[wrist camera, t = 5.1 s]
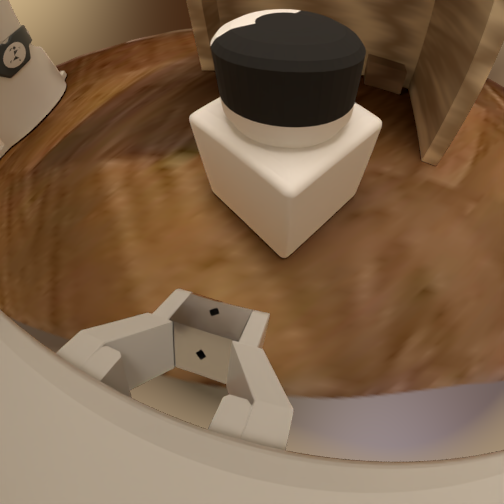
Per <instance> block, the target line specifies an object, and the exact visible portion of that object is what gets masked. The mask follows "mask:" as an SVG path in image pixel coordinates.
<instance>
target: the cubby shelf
mask: <svg viewBox="0 0 504 504" xmlns="http://www.w3.org/2000/svg"><path fill="white" fill-rule="evenodd" d="M186 1H187V6H188V10H189V15H190V19H191V24H192V28H193V33H194V37H195V42H196V46H197V50H198V55H199V59H200V64H201V68H202V70H213V71H215V68H214V62H213V57H212V52H211V47H210V43H211V40H212V38H213V37H214V35H215V34H216V32H217V31H218V30H219V28H221V27H222V26H223V25H225V24H226V23H228V22H230V21H232V20H234V19H236V18H239V17H241V16H243V15H246V14H249V13H253V12H257V11H263V10H272V9H292V10H302V11H308V12H313V13H317V14H320V15H323V16H326V17H329V18H331V19H333V20H335V21H337V22H339V23H341V24H343V25H345V26H346V27H348V28H349V29H351V30H352V31H353V32H355V33H356V34H357V36H358V37H359V38H360V40H361V41H362V43H363V44H364V46H365V49H366V55H365V59H364V64H363V69H362V74H361V75H364V84H366V85H369V86H373V87H377V88H380V89H383V90H387V91H390V92H393V93H396V94H399V95H400V93H401V90H402V87H404V88H407V89H408V90H409V94H410V99H411V103H412V108H413V113H414V118H415V123H416V128H417V134H418V140H419V147H420V154H421V161H423V162H426V163H429V164H432V165H434V166H437V164H438V163H439V161H440V159H441V158H442V156H443V155H444V153H445V152H446V150H447V149H448V147H449V145H450V144H451V142H452V141H453V139H454V137H455V136H456V134H457V132H458V131H459V129H460V127H461V126H462V124H463V122H464V120H465V119H466V117H467V115H468V113H469V112H470V110H471V108H472V106H473V104H474V102H475V101H476V99H477V97H478V95H479V93H480V91H481V89H482V87H483V85H484V83H485V81H486V79H487V77H488V75H489V73H490V71H491V69H492V67H493V64H494V62H495V60H496V58H497V55H498V53H499V51H500V48H501V46H502V44H503V41H504V0H186Z"/></svg>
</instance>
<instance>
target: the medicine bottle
mask: <svg viewBox="0 0 504 504" xmlns="http://www.w3.org/2000/svg"><path fill="white" fill-rule="evenodd" d="M210 47H211V52H212V57H213V62H214V68H215V73H216V78H217V83H218V88H219V93H220V97H219V98H217V99H216V100H214V101H212V102H210V103H209V104H207V105H205V106H203V107H202V108H200V109H198V110H197V111H195V112H194V113H192V114H191V115H190V117H189V122H190V125H191V128H192V131H193V134H194V137H195V140H196V143H197V146H198V149H199V153H200V156H201V159H202V162H203V165H204V168H205V171H206V174H207V177H208V180H209V183H210V186H211V189H212V191H213V192H214V193H215V194H216V195H217V196H218V197H219V198H220V199H221V200H222V201H223V202H224V203H225V204H226V205H227V206H228V207H229V208H230V209H231V210H232V211H233V212H235V213H236V214H237V215H238V216H239V217H240V218H241V219H242V220H243V221H244V222H245V223H246V224H247V225H248V226H249V227H250V228H251V229H252V230H253V231H254V232H255V233H256V234H257V235H258V236H259V237H260V238H262V239H263V240H264V241H265V242H266V243H267V244H268V245H269V246H270V247H271V248H272V249H273V250H274V251H275V252H276V253H277V254H278V255H279V256H280V257H282V258H286V257H288V256H289V255H290V254H292V253H293V252H294V251H295V250H296V249H297V248H298V247H299V246H300V245H301V244H302V243H304V242H305V241H306V240H307V239H308V238H309V237H310V236H311V235H312V234H313V233H314V232H316V231H317V230H318V229H319V228H320V227H321V226H322V225H323V224H324V223H325V222H326V221H327V220H328V219H329V218H331V217H332V216H333V215H334V214H335V213H336V212H337V211H338V210H339V209H340V208H341V207H342V206H343V205H344V204H345V203H347V202H348V201H349V200H350V199H351V198H352V197H353V196H354V195H355V193H356V190H357V188H358V186H359V183H360V181H361V178H362V176H363V174H364V171H365V169H366V166H367V164H368V161H369V159H370V156H371V153H372V151H373V148H374V146H375V143H376V140H377V138H378V135H379V132H380V130H381V127H382V121H381V120H380V119H379V118H378V117H377V116H375V115H374V114H372V113H371V112H369V111H368V110H366V109H365V108H363V107H361V106H360V105H358V104H357V103H355V100H356V96H357V91H358V87H359V83H360V78H361V74H362V69H363V64H364V59H365V55H366V49H365V46H364V44H363V43H362V41H361V40H360V38H359V37H358V36H357V34H356V33H355V32H353V31H352V30H351V29H349V28H348V27H346V26H345V25H343V24H341V23H339V22H337V21H335V20H333V19H331V18H329V17H326V16H323V15H320V14H317V13H313V12H308V11H302V10H292V9H272V10H263V11H257V12H253V13H249V14H246V15H243V16H241V17H239V18H236V19H234V20H232V21H230V22H228V23H226V24H225V25H223V26H222V27H221V28H219V30H218V31H217V32H216V34H215V35H214V37H213V38H212V40H211V43H210Z"/></svg>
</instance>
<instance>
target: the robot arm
mask: <svg viewBox="0 0 504 504" xmlns="http://www.w3.org/2000/svg"><path fill="white" fill-rule="evenodd" d="M31 41H32V39H31V37H30V35H29V32H28V30H26V28H25V26H24V25H22V26H21V25H20V23H19V21H18V19H17V17H16V15H15V13H14V11H13V9H12V7H11V5H10V2H9V0H0V158H1V157H2V156H3V155H4V154H5V152H6V151H7V150H8V149H9V148H10V147H11V146H13V145H14V144H15V143H17V142H18V141H19V140H20V139H22V138H23V137H24V136H25V135H26V134H28V133H29V132H30V131H31V130H32V129H33V128H34V127H35V126H36V125H37V124H38V123H39V122H40V121H41V120H42V119H43V118H44V117H45V116H46V115H47V114H48V113H49V112H50V111H51V109H52V108H53V107H54V106H55V105H56V103H57V102H58V101H59V100H60V98H61V97H62V95H63V93H64V91H65V89H66V83H65V78H66V76H67V74H66V73H65V71H61V72H59V71H58V69H57V68H56V67H55V65H54V64H53V62H52V61H51V60H50V58H49V57H48V55H47V54H46V52H45V51H44V50H43V48H42V47H39V46H34V45H32V44H31ZM269 318H270V314H269V313H266V312H261V311H257V310H251V309H247V308H243V307H239V306H235V305H232V304H228V303H224V302H222V301H218V300H215V299H212V298H209V297H206V296H202V295H199V294H196V293H192V292H190V291H186V290H183V289H180V288H179V289H176V290H175V291H174V292H173V293H172V294H171V295H170V296H169V297H168V298H167V299H166V300H165V301H164V302H163V303H162V304H161V305H160V306H159V307H158V308H157V309H156V310H155V311H154V313H153V314H151V313H145V314H141V315H137V316H134V317H130V318H126V319H123V320H119V321H115V322H111V323H107V324H104V325H100V326H96V327H92V328H88V329H84V330H81V331H80V332H79V333H77V334H76V335H75V336H74V337H73V338H72V339H71V340H70V341H68V342H67V343H66V344H65V345H64V346H63V347H62V348H61V349H60V350H59V351H58V352H56V353H54V352H53V351H52V350H50V349H49V348H47V347H46V346H45V345H43V344H42V343H41V342H39V341H38V340H36V339H35V338H34V337H33V336H31V335H30V334H29V333H27V332H26V331H25V330H24V329H22V328H21V327H20V326H19V325H17V324H16V323H15V322H14V321H13V320H12V319H10V318H9V317H8V316H7V315H6V314H5V313H4V312H2V311H1V310H0V504H504V450H501V451H496V452H491V453H487V454H481V455H476V456H469V457H462V458H455V459H445V460H433V461H416V462H379V461H360V460H347V459H338V458H329V457H321V456H314V455H308V454H302V453H296V452H291V451H286V445H287V440H288V436H289V431H290V426H291V422H292V417H293V411H294V409H293V407H292V406H291V404H290V402H289V400H288V398H287V396H286V394H285V392H284V390H283V388H282V386H281V384H280V382H279V380H278V378H277V376H276V374H275V372H274V370H273V368H272V366H271V364H270V362H269V360H268V358H267V356H266V354H265V352H264V350H263V349H262V347H263V344H264V339H265V335H266V331H267V327H268V322H269ZM174 366H175V367H178V368H181V369H184V370H186V371H189V372H193V373H196V374H199V375H202V376H204V377H207V378H210V379H213V380H215V381H218V382H221V383H224V384H226V387H227V391H228V395H227V396H224V397H223V398H222V400H221V403H220V405H219V407H218V409H217V411H216V413H215V415H214V417H213V419H212V422H211V424H210V426H209V428H208V429H205V428H202V427H199V426H196V425H194V424H191V423H188V422H186V421H183V420H180V419H178V418H175V417H173V416H170V415H168V414H166V413H163V412H161V411H158V410H156V409H154V408H152V407H150V406H147V405H145V404H143V403H141V402H139V401H137V400H135V399H133V398H132V397H131V394H130V390H132V389H134V388H136V387H138V386H140V385H142V384H144V383H146V382H147V381H150V380H152V379H154V378H156V377H158V376H160V375H162V374H164V373H165V372H167V371H169V370H171V369H173V368H174Z"/></svg>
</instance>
